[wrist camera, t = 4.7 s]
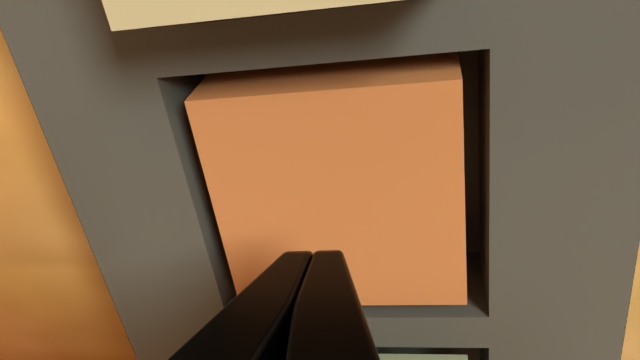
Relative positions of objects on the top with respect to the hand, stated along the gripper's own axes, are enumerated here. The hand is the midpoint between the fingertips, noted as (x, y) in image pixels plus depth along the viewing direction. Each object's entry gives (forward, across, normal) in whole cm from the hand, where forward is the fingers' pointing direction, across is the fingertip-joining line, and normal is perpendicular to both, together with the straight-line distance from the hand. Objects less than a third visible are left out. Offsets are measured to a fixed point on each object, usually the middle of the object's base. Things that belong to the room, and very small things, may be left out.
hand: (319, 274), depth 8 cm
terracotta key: (+4, 0, 0) cm, 4 cm away
